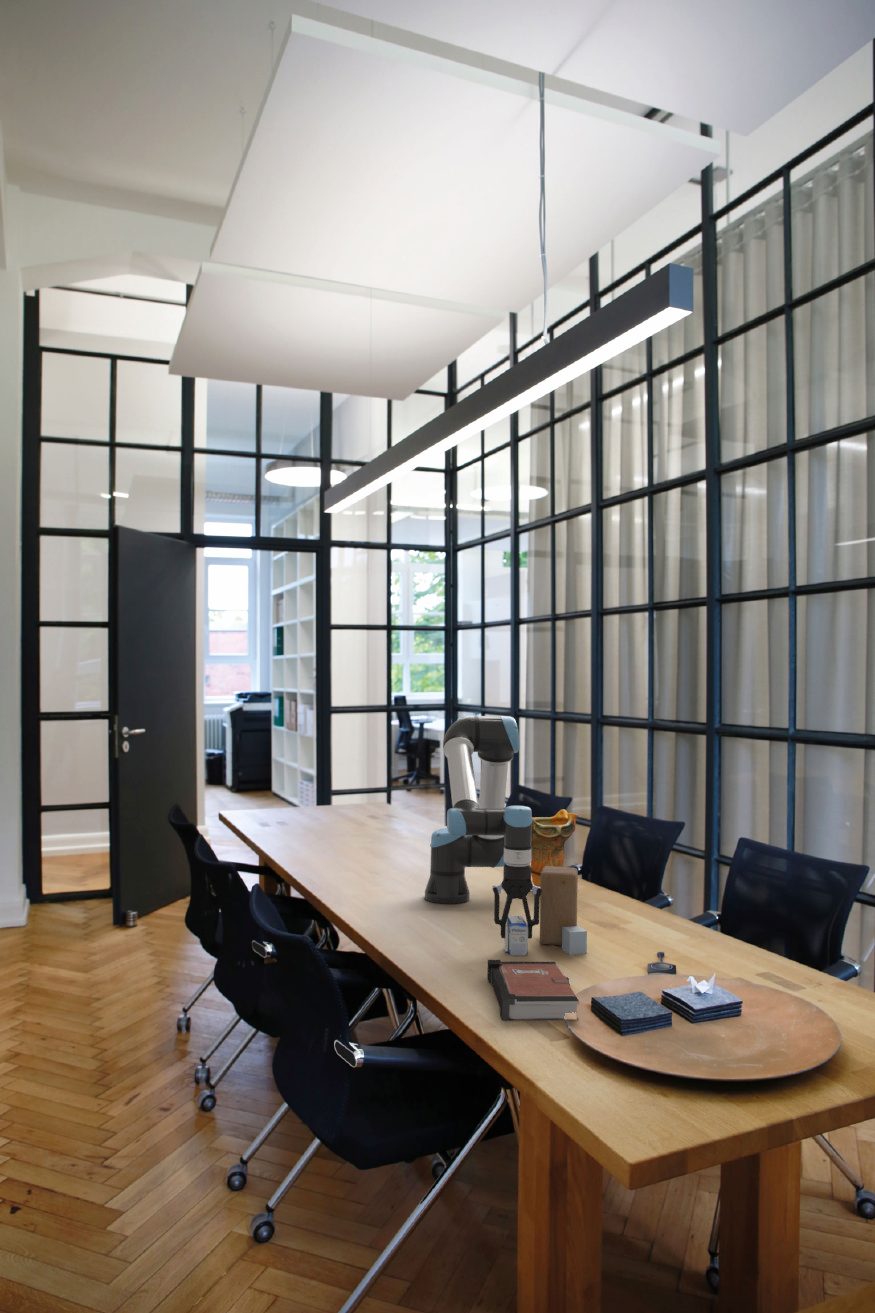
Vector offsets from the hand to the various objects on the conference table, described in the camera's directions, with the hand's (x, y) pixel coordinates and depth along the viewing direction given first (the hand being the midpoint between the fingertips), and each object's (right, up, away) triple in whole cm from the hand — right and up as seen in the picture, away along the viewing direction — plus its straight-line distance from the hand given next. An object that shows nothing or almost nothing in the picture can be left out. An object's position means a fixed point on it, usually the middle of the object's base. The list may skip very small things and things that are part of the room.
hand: (516, 950), depth 230 cm
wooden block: (+13, -1, +10) cm, 16 cm away
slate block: (+16, -1, +1) cm, 16 cm away
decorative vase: (+18, -3, +73) cm, 75 cm away
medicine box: (0, -1, 0) cm, 1 cm away
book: (0, 0, -34) cm, 34 cm away
